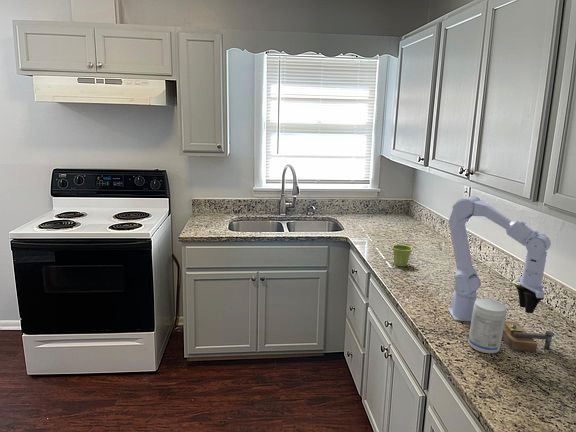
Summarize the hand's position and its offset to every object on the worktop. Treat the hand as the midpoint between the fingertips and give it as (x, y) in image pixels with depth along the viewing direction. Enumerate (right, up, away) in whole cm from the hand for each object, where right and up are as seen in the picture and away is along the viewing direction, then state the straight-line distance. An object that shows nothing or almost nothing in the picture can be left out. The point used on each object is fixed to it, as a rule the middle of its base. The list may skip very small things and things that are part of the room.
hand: (526, 309), depth 151 cm
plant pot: (-25, +7, +69) cm, 74 cm away
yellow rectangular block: (-5, -7, -1) cm, 9 cm away
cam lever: (-1, -11, -4) cm, 12 cm away
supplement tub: (-17, -11, -6) cm, 21 cm away
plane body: (-4, -10, 0) cm, 11 cm away
